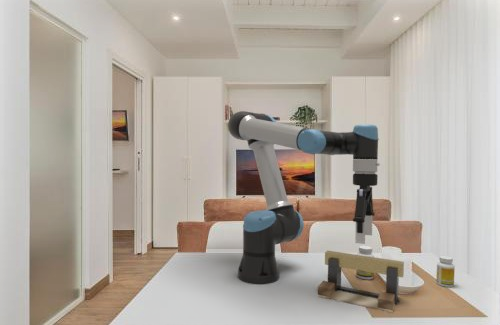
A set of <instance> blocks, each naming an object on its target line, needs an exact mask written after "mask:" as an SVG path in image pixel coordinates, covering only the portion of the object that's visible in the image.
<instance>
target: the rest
mask: <svg viewBox="0 0 500 325" xmlns="http://www.w3.org/2000/svg"><path fill="white" fill-rule="evenodd" d="M379 294H380V295H379V297H378V298H374V297H369V296H364V295H359V294H354V293H349V292H344V291H339V290H338V291H335V283H333V282H328V280H322V281H321V282H320V284H318V286H317V295H316V296H319V298H322V297H323V298H322V299H329V300H331V299H332V300H333V301H335V302H337V301H338V302H342V303H346V304H350V305H356V306H359V307H360V306H361V307H365V308H371V309H374V310H378V311H383V312H387V313H393V312H394V309H395V308H394V307H395V305H396V304H395V294H391V293H386V291H380V293H379Z"/></svg>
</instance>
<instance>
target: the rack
mask: <svg viewBox="0 0 500 325" xmlns="http://www.w3.org/2000/svg"><path fill="white" fill-rule="evenodd" d="M397 273H398V269H394V268H387V274H386V280H385V281H386V282H385V284H386V285H385V292H386V293H391V294H395V305H397V303H399V302H400V297H399V282H400V280H399V279H400V277H397ZM327 281H328V282H333V283H335V291H341V292H346V293H351V294H356V295H361V296H366V297H371V298H376V299H378V297H379V295H380V293H378V292H373V291H367V290H363V289H358V288H352V287H348V286H347V287H346V286H342V267H338V260H337V259H330V258H329V259H328V265H327Z"/></svg>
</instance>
